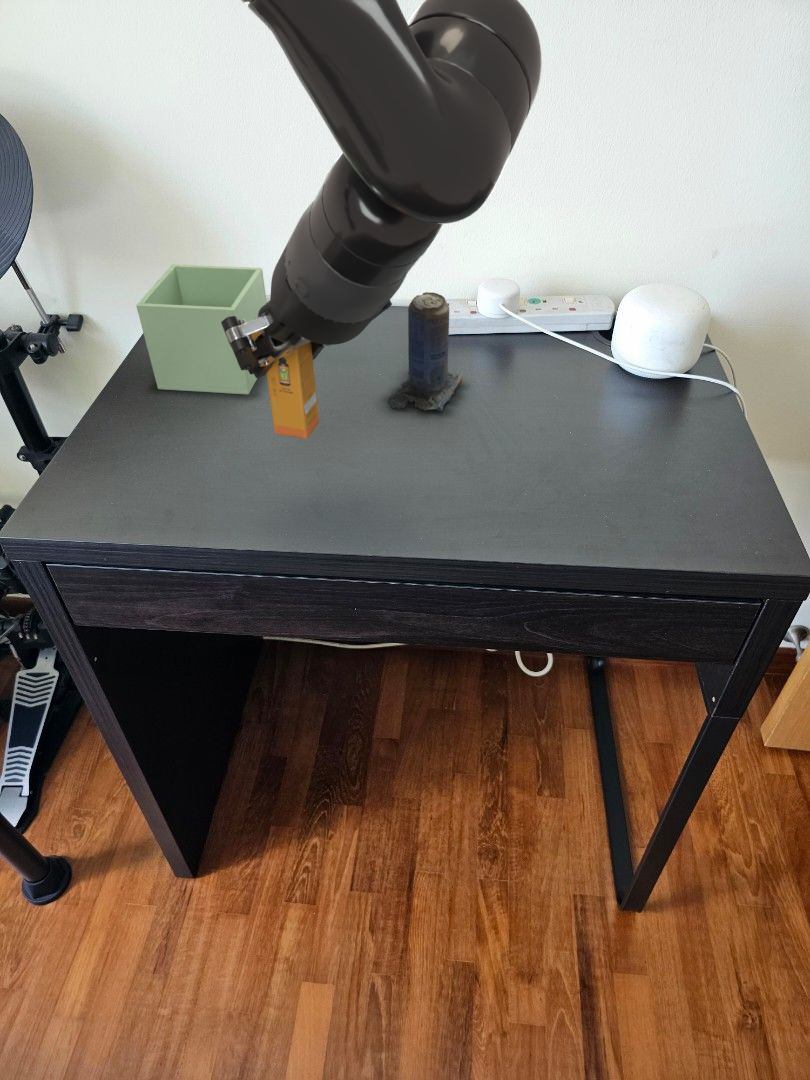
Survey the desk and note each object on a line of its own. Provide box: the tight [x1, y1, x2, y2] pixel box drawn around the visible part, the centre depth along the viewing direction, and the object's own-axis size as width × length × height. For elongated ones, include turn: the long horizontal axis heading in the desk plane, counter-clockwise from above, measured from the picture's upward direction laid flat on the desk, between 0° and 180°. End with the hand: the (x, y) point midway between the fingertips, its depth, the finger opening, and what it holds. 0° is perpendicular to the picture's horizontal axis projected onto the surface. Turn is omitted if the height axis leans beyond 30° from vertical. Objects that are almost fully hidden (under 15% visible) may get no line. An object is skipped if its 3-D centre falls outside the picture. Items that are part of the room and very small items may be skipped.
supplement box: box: [266, 341, 320, 440], centre depth 67 cm, size 3×3×10 cm
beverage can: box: [387, 291, 463, 413], centre depth 88 cm, size 9×8×12 cm
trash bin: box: [135, 263, 268, 395], centre depth 94 cm, size 11×11×11 cm
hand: (279, 358), depth 68 cm, fingers closed on supplement box, 4 cm apart
